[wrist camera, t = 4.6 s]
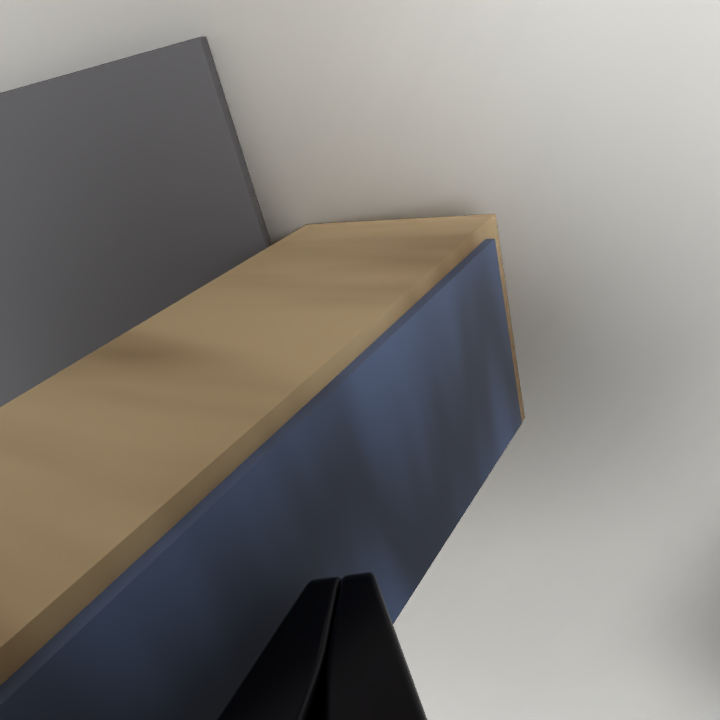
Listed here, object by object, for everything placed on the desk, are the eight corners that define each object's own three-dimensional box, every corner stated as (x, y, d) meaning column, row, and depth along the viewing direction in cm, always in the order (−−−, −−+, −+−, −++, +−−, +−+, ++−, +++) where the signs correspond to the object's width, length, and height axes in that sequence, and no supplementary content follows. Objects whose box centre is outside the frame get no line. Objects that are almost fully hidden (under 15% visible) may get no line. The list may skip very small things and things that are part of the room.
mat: (357, 518, 20) (356, 530, 20) (-79, 582, 23) (-88, 593, 22) (205, 36, 14) (199, 37, 13) (-374, 199, 16) (-395, 204, 16)
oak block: (532, 418, 15) (137, 1051, 7) (354, 393, 18) (-68, 810, 10) (504, 213, 13) (-137, 788, 5) (306, 224, 16) (-293, 582, 8)
